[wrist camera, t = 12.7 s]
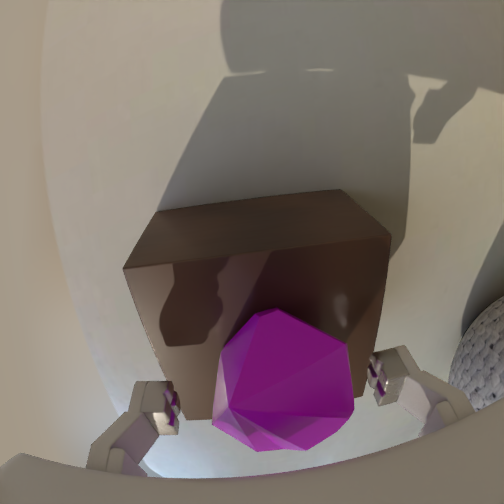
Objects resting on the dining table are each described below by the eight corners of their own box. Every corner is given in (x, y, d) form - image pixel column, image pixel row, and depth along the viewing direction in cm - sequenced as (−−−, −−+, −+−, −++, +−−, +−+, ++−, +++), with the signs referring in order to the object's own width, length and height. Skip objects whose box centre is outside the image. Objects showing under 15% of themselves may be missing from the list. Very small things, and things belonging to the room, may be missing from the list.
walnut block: (192, 348, 20) (186, 420, 15) (155, 211, 16) (121, 268, 11) (335, 330, 21) (362, 396, 15) (341, 188, 16) (392, 234, 11)
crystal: (209, 382, 14) (207, 468, 9) (226, 289, 11) (227, 391, 7) (312, 388, 14) (332, 466, 10) (353, 304, 12) (398, 390, 8)
